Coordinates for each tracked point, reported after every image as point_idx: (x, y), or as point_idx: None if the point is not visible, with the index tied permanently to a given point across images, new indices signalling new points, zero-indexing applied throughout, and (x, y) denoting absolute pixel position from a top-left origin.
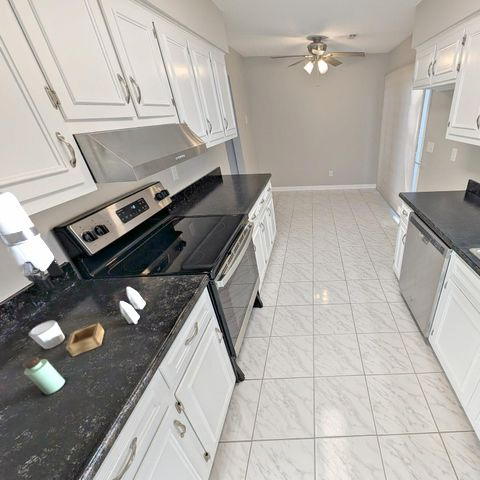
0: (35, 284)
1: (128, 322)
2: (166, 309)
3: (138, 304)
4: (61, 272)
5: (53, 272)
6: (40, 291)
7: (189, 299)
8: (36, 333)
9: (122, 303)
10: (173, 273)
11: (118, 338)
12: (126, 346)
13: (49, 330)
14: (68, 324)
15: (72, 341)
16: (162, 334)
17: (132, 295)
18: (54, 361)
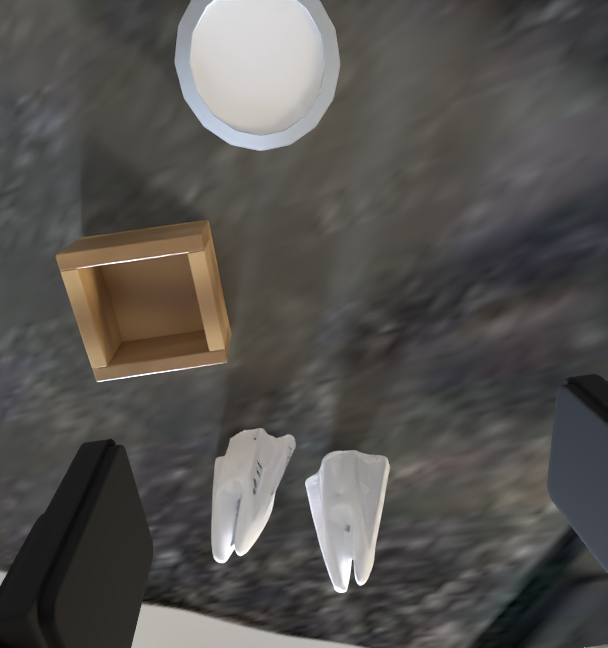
0: (19, 570)
1: (238, 434)
2: (261, 561)
3: (310, 503)
4: (558, 503)
5: (587, 460)
6: (83, 449)
7: (286, 630)
8: (204, 42)
9: (217, 559)
10: (571, 549)
11: (137, 413)
12: (65, 458)
13: (208, 129)
14: (407, 101)
15: (120, 260)
16: None
17: (322, 550)
18: (77, 148)
